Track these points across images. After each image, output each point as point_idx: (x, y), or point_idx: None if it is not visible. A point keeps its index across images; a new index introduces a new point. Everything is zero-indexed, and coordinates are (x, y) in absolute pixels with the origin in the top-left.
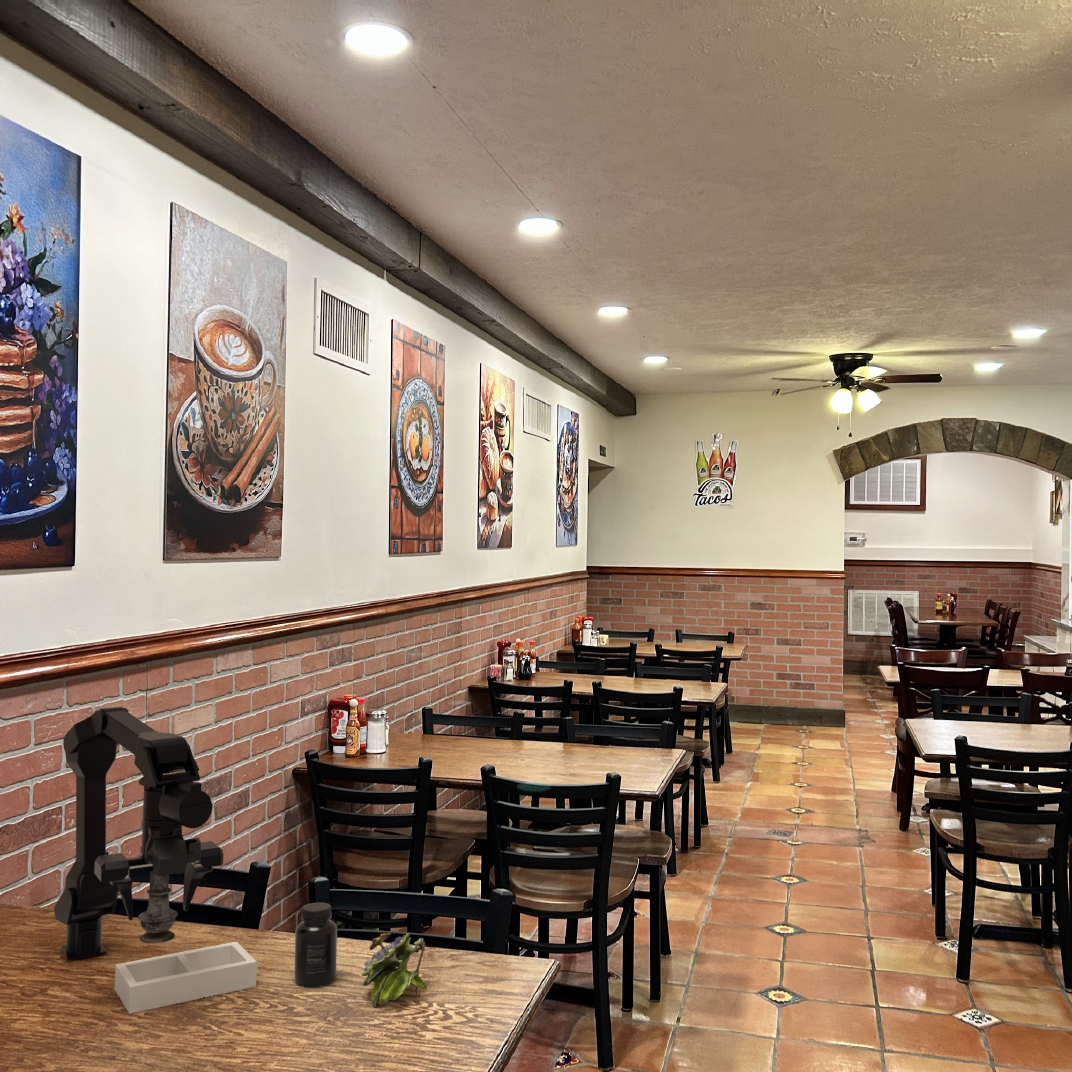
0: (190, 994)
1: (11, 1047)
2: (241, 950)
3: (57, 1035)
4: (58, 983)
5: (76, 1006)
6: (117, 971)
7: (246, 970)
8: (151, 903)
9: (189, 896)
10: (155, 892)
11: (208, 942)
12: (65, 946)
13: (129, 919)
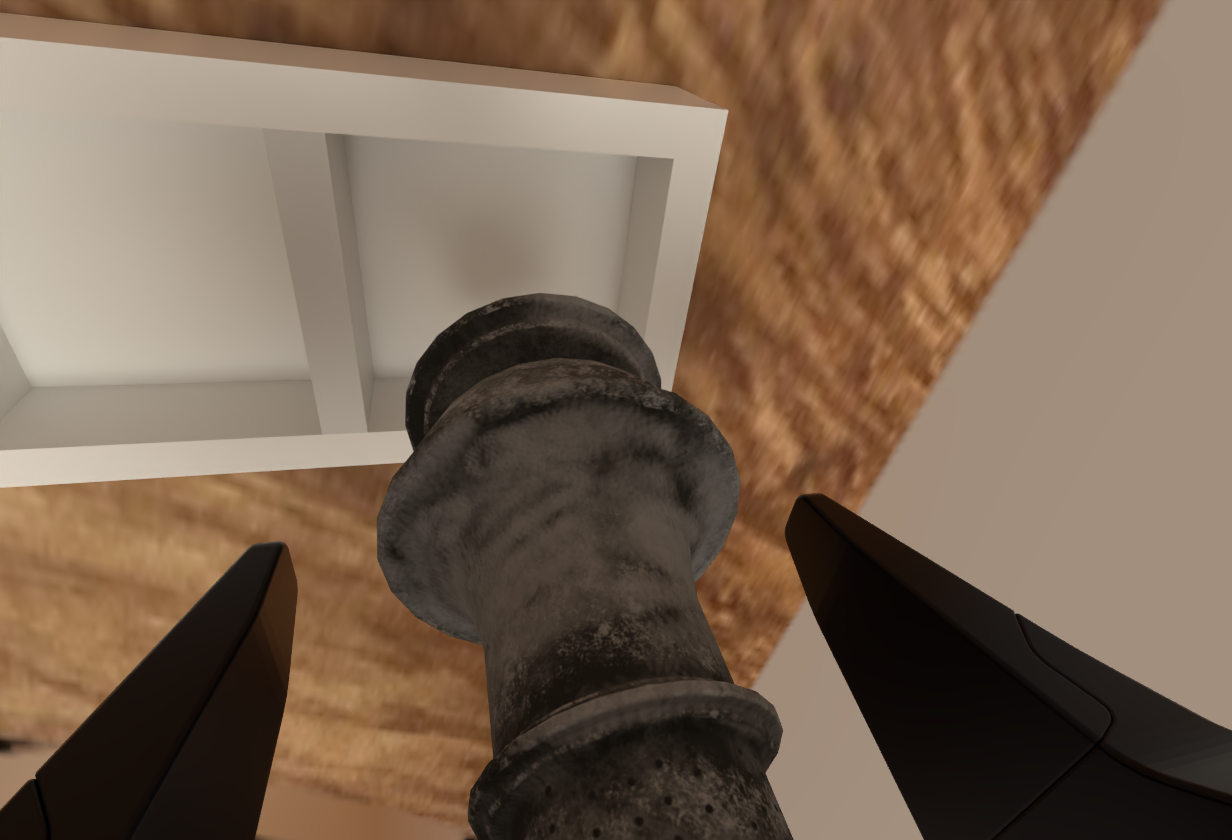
0: (338, 53)
1: (1132, 48)
2: None
3: (984, 49)
4: (747, 504)
5: (793, 304)
6: None
7: None
8: (701, 609)
9: (178, 686)
10: (733, 727)
11: None
12: None
13: (824, 500)
